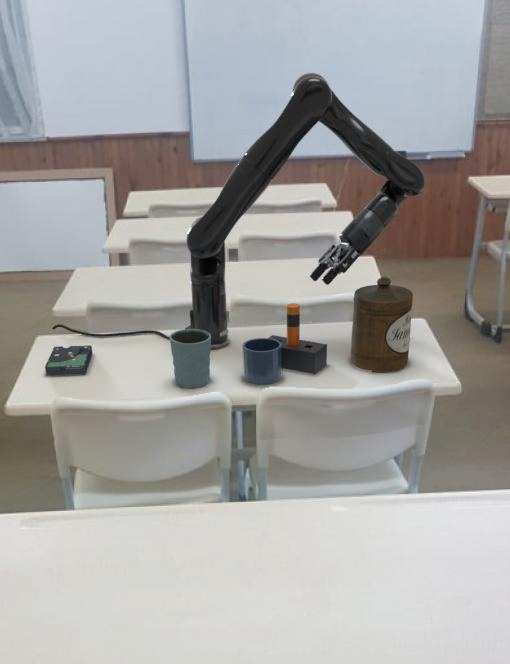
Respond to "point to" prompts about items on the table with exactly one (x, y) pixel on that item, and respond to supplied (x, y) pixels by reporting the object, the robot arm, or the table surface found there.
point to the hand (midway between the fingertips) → (318, 280)
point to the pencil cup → (262, 361)
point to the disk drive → (69, 360)
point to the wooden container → (381, 327)
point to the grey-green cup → (191, 357)
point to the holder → (303, 355)
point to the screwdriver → (293, 324)
